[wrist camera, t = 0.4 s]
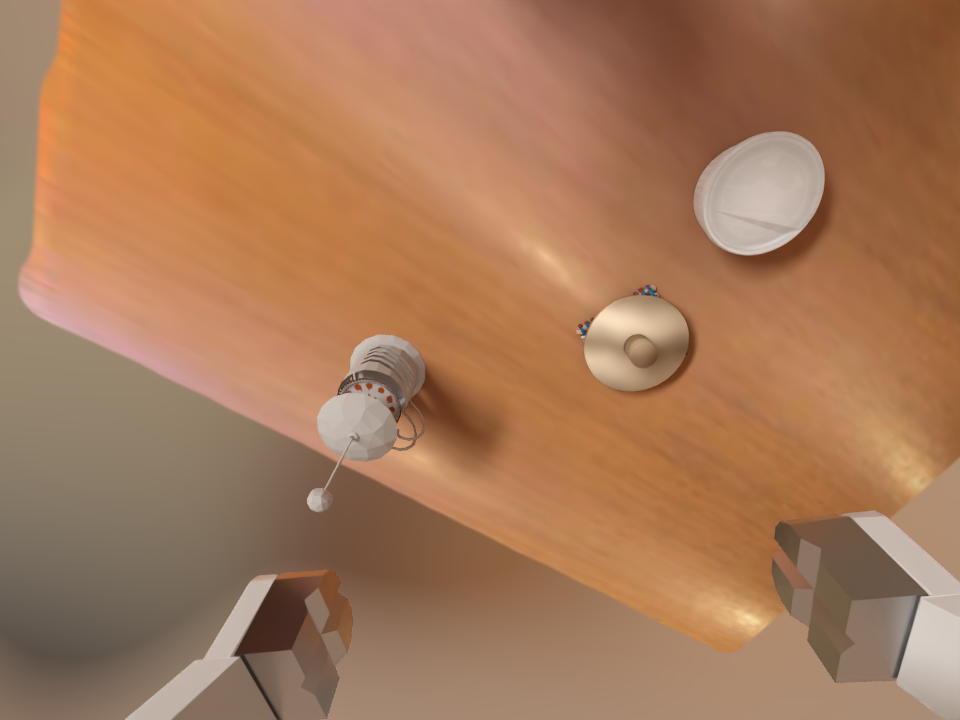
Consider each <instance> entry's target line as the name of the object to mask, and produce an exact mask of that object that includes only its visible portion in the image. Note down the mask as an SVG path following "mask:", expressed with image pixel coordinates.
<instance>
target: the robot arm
mask: <svg viewBox="0 0 960 720" xmlns="http://www.w3.org/2000/svg"><path fill="white" fill-rule="evenodd" d="M774 539H775V540H776V541H777V543H778V544H779V545H780V547H781V549H780V550H779V551H778V552H777V553H776V554H775V555H774V556H773V557H772V576H773V579H774V583H775V587H776V590H777V592H778V594H779V596H780V598H781V601H782V602H783V604H784V605H785V607H786V609H787V610H788V612H789V613H790V615H791V616H793V617H794V618H796V619H797V620H799V621H800V622H802V623H804V624H805V625H807V626H808V627H809V631H808V642H809V644H810V645H811V647H812V648H813V650H814V651H815V653H816V654H817V656H818V657H819V659H820V660H821V662H822V663H823V665H824V666H825V668H826V669H827V671H828V672H829V674H830V675H831V677H832V678H833V680H834V682H835V683H843V682H868V681H892V680H897V681H896V684H897V685H898V686H900V687H901V688H902V689H904V690H905V691H906V692H908V693H909V694H910V695H912V696H913V697H914V698H916V699H917V700H918V701H920V702H921V703H922V704H924V705H925V706H926V707H928V708H929V709H930V710H932V711H933V712H934V713H936V714H937V715H938V716H940V717H941V718H943V719H944V720H960V582H959V581H958V580H957V579H956V578H955V577H954V576H952V575H951V574H950V573H949V572H948V571H947V570H946V569H945V568H943V567H942V566H941V565H940V564H939V563H938V562H936V560H934V559H933V558H932V557H931V556H930V555H929V554H928V553H927V552H925V551H924V550H923V549H922V548H921V547H920V546H919V545H918V544H916V543H915V542H914V541H913V540H912V539H911V538H910V537H909V536H907V535H906V534H905V533H904V532H903V531H902V530H901V529H899V528H898V527H897V526H896V525H895V524H894V523H893V522H892V521H891V520H889V519H888V518H887V517H886V516H885V515H883V514H881V513H879V512H877V511H875V510H873V511H864V512H856V513H847V514H841V515H828V516H820V517H811V518H803V519H794V520H786V521H779V523H778V524H777V526H776V527H775V535H774ZM340 584H341V582H340V580H339V578H338V576H337V573H336V571H335V570H318V571H306V572H292V573H282V574H273V575H260V576H257V577H256V578H255V579H253V580H252V581H251V582H250V583H249V584H248V586H247V588H246V589H245V591H244V593H243V595H242V596H241V598H240V599H239V601H238V603H237V604H236V606H235V608H234V609H233V611H232V613H231V614H230V616H229V618H228V619H227V621H226V622H225V624H224V626H223V627H222V629H221V631H220V632H219V634H218V636H217V637H216V639H215V641H214V642H213V644H212V646H211V647H210V649H209V651H208V652H207V654H206V656H205V658H204V659H202V660H195V661H194V662H193V663H192V664H190V665H189V666H188V667H187V668H186V669H184V670H183V671H182V672H181V673H180V674H179V675H177V676H176V677H175V678H174V679H173V680H171V681H170V682H169V683H168V684H167V685H165V686H164V687H163V688H162V689H161V690H160V691H158V692H157V693H156V694H155V695H154V696H153V697H151V698H150V699H149V700H148V701H146V702H145V703H144V704H143V705H142V706H141V707H139V708H138V709H137V710H136V711H135V712H134V713H132V714H131V715H130V716H129V717H127V718H126V719H125V720H320V719H327V716H328V713H329V710H330V707H331V704H332V700H333V697H334V694H335V691H336V688H337V684H338V681H339V676H338V673H337V670H336V667H335V666H336V665H337V664H338V663H339V662H340V661H341V659H342V658H343V657H344V656H345V655H346V654H347V652H348V649H349V645H350V642H351V638H352V626H353V616H352V610H351V606H350V604H349V601H348V599H347V598H345V597H344V596H343V595H341V594H340V593H338V589H339V587H340Z"/></svg>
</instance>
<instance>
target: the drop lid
mask: <svg viewBox="0 0 960 720" xmlns="http://www.w3.org/2000/svg"><path fill="white" fill-rule="evenodd" d="M688 344H689V331H688V327H687V324H686V321H685V319H684V317H683V316H682V314H681V313H680V312H679V311H678V310H677V309H676V308H675V307H674V306H673V305H671V304H670V303H669V302H667V301H665V300H664V299H661V298H659V297H656V296H652V295H631V296H627V297H623V298H621V299H618V300H616V301H614V302H612V303H610V304H609V305H607V306H606V307H605V308H603V309H602V310H601V311H600V312H599V313H598V314H597V315H596V316H595V318H594V319H593V320H592V322H591V324H590V325H589V327H588V329H587V332H586V335H585V340H584V355H585V359H586V362H587V364H588V367H589V368H590V370H591V372H592V373H593V375H594V376H595V377H596V378H597V379H598V380H599V381H600V382H602V383H603V384H605V385H606V386H608V387H610V388H613V389H616V390H621V391H641V390H645V389H649V388H651V387H654V386H656V385H658V384H660V383H662V382H663V381H665V380H666V379H667V378H669V377H670V376H671V375H672V374H673V373H674V372H675V371H676V370H677V369H678V367H679V366H680V365H681V363H682V361H683V360H684V358H685V355H686V353H687V349H688Z"/></svg>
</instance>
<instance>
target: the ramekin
mask: <svg viewBox="0 0 960 720" xmlns="http://www.w3.org/2000/svg"><path fill="white" fill-rule="evenodd" d="M824 184H825V171H824V165H823V161H822V159H821V156H820V154H819V152H818V151H817V149H816V148H815V147H814V145H813V144H812V143H811V142H810V141H808V140H807V139H805V138H804V137H802V136H800V135H797V134H794V133H791V132H785V131H777V132H767V133H762V134H758V135H755V136H753V137H750V138H748V139H746V140H744V141H742V142H740V143H739V144H737V145H735V146H733V147H730V148H729V149H727V150H726V151H723V152H722V153H721V154H720V155H718V156H717V157H716V158H715V159H714V160H712V161H711V162H710V164H709V165H708V166H707V167H706V169H705V170H704V171H703V172H702V174H701V177H700V178H699V180H698V183H697V185H696V189H695V192H694V204H693V206H694V212H695V216H696V218H697V221H698V223H699V224H700V226H701V228H702V229H703V230H704V231H705V233H706V234H707V236H708V237H709V239H710V240H711V241H712V242H713V243H714V244H715V245H717V246H718V247H720V248H721V249H723V250H725V251H727V252H730V253H733V254H738V255H746V256H751V255H759V254H763V253H767V252H770V251H772V250H775V249H777V248H779V247H781V246H783V245H785V244H786V243H788V242H789V241H791V240H792V239H793V238H794V237H796V236H797V235H798V234H799V233H800V232H801V231H802V230H803V229H804V228H805V226H806V225H807V224H808V223H809V221H810V220H811V219H812V217H813V216H814V214H815V212H816V210H817V208H818V206H819V204H820V201H821V198H822V195H823V191H824Z"/></svg>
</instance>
